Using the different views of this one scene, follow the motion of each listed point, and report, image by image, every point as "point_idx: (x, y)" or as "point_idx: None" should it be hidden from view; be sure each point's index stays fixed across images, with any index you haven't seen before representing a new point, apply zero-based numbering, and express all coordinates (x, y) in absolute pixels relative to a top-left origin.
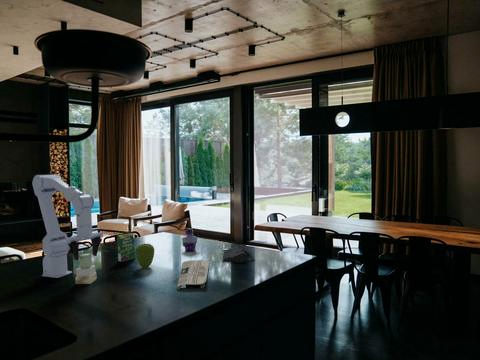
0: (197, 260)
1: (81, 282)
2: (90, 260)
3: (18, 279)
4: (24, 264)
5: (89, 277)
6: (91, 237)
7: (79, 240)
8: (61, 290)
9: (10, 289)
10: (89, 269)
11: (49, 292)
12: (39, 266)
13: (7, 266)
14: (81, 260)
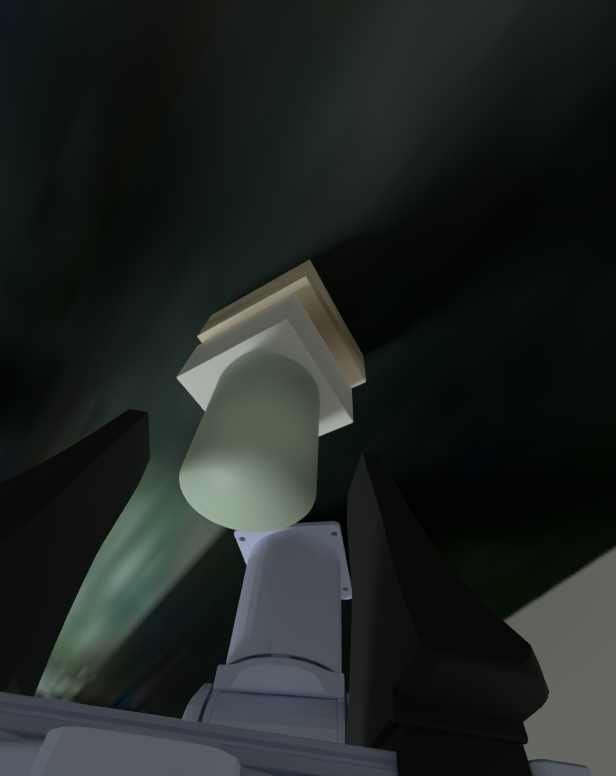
0: None
1: (344, 324)
2: (228, 395)
3: None
4: None
5: (310, 279)
6: (53, 732)
7: (313, 757)
8: (508, 327)
9: (556, 565)
10: (288, 319)
11: (563, 365)
12: None
13: None
14: (316, 443)
